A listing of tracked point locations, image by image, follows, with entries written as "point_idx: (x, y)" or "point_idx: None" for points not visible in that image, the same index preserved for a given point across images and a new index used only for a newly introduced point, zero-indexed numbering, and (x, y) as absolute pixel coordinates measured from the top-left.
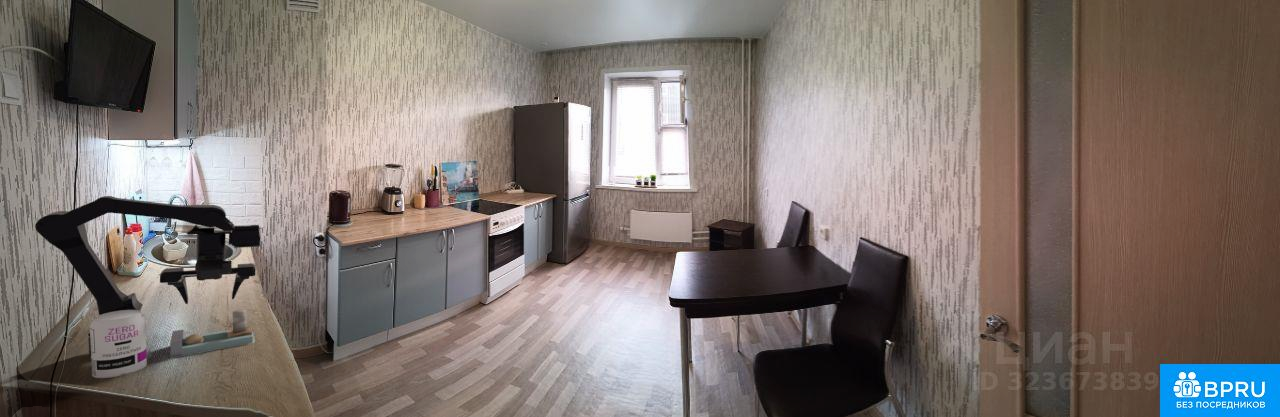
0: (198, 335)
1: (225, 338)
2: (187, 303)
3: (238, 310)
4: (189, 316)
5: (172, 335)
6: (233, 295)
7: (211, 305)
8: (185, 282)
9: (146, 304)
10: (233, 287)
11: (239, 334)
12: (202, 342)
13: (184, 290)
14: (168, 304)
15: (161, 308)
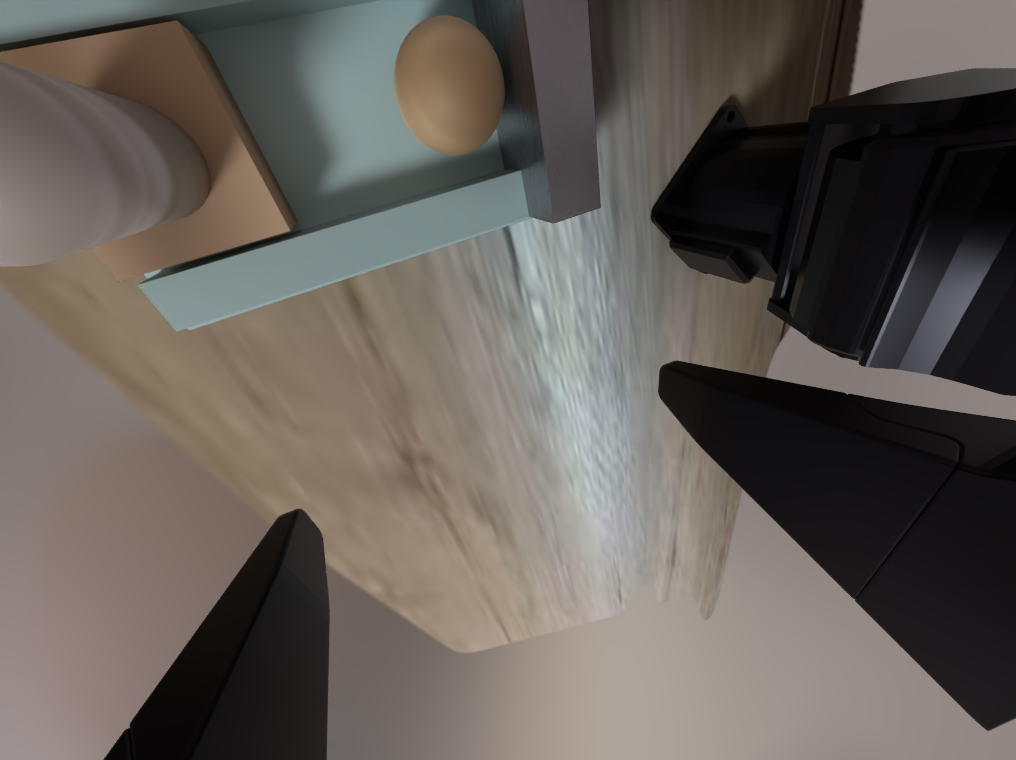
0: (429, 73)
1: (309, 219)
2: (664, 366)
3: (17, 211)
4: (568, 534)
5: (589, 90)
6: (266, 558)
7: (537, 605)
8: (931, 622)
9: (657, 585)
10: (259, 735)
11: (73, 45)
12: (423, 186)
13: (889, 432)
14: (623, 592)
15: (632, 571)
